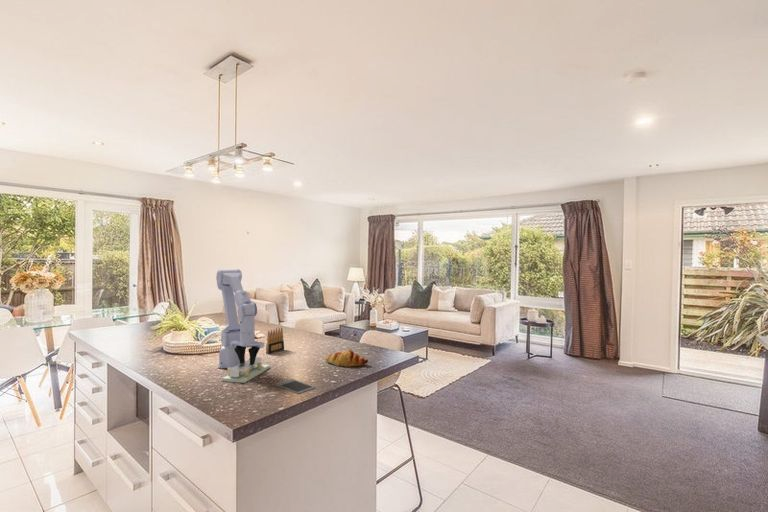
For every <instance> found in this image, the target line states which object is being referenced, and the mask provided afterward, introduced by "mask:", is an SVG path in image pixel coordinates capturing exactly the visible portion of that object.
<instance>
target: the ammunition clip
mask: <svg viewBox="0 0 768 512" xmlns="http://www.w3.org/2000/svg"><path fill="white" fill-rule="evenodd" d="M266 336H267V338H266V346H265V347H266V349H265V351H266V353H265V354H266V355H271V354H275V353H277V352H281V351H284V350H285V341H284V331H283V327H278V328H275V329H270V330H267V335H266Z"/></svg>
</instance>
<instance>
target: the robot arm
mask: <svg viewBox="0 0 768 512" xmlns="http://www.w3.org/2000/svg"><path fill="white" fill-rule="evenodd" d="M242 279H243V274H242V271H241V270H240V269H239V268H238V269H218V270H217V272H216V286H217V289H218V290H219V291H221V294H222V300H223V301H222V302H223V308H224V314H225V320H226V321H225V323H226V325H225V326H224V327H223V328H222V330H221V333H220V343H221V348H220V349H219V353H218V366H217V369H218V368H219V369H228V368H233V367H235V366H237V365H239V364H241V363H243V362H245V361H246V359H245V358H246V348H248V353H249V359H250V365H253V364H254V363H255V359H256V357H258V356H257V355H258V353H259V351H260V349H263V348H265V342H263V341H256V340H255V335H256V334H255V327H256V326H255V323H256V321H255V320H256V319H255V316H257V313H258V306H257V303H256V302H254V301H253V300H251V298H250V296H249V294H248V292H247V291H246V290H244V287H243V285H242Z"/></svg>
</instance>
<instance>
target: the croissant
mask: <svg viewBox="0 0 768 512" xmlns="http://www.w3.org/2000/svg"><path fill="white" fill-rule="evenodd" d="M325 361H326V362H327V363H329V364H331V365H333V366H337V367H343V366H345V368H346V367H347V368H348V367H362V366H365V365H366V364H368V361H369V359H368V358H365V357H363V356H360V355H359V354H358V353H355V352H354V351H353V350H350V349H348V350H344V351H342V352H341V351H339V352H336V353H334V354H332V353H331V354H330V355H328V356H327V355H326V357H325Z"/></svg>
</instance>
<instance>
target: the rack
mask: <svg viewBox="0 0 768 512" xmlns="http://www.w3.org/2000/svg"><path fill="white" fill-rule="evenodd" d="M270 368H271V364H264V363H263V364H262V361H261V362H258V367H256V368H255V369H253V370H251V371H249V369H245V374H244V375H242V376H240V377H230V369H231V368H227V375H225V376H223V377H221V382H228V383H240V384H241V383H242V384H246V383H247V382H249V381H250V380H251V379H253V378H256V377H257V376H259V375H260V374H262V373H264V372H265V371H267V370H269V369H270Z"/></svg>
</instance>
